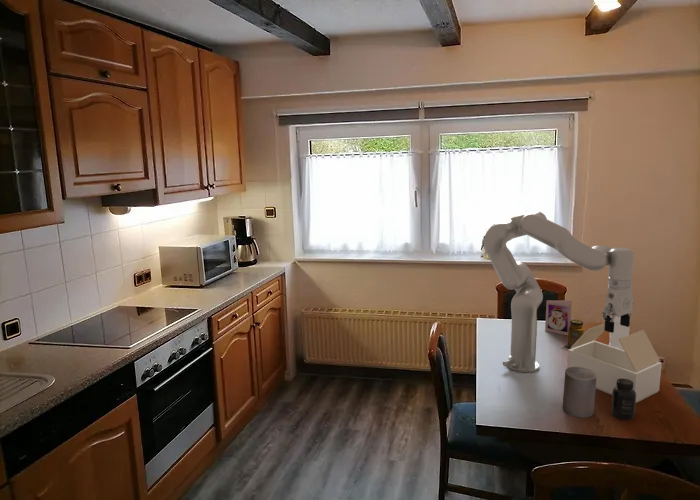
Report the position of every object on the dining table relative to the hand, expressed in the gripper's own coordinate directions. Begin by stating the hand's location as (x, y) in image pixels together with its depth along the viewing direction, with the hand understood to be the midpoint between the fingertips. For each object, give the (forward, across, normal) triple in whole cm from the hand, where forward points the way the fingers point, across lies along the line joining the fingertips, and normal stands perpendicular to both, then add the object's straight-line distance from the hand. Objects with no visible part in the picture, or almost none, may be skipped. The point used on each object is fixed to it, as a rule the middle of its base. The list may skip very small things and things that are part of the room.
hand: (616, 328), depth 187 cm
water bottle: (+22, +22, +12) cm, 33 cm away
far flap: (+5, 0, +9) cm, 11 cm away
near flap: (+5, 0, -8) cm, 10 cm away
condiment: (+22, +19, +30) cm, 41 cm away
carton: (+22, 0, +1) cm, 22 cm away
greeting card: (+21, +31, +46) cm, 59 cm away
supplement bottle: (+22, -18, -14) cm, 32 cm away
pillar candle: (+22, -27, -4) cm, 35 cm away
